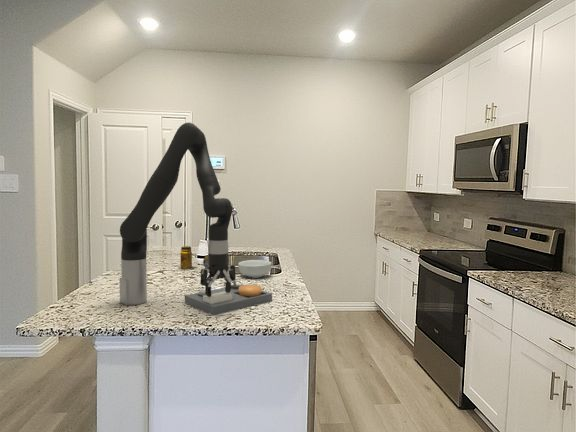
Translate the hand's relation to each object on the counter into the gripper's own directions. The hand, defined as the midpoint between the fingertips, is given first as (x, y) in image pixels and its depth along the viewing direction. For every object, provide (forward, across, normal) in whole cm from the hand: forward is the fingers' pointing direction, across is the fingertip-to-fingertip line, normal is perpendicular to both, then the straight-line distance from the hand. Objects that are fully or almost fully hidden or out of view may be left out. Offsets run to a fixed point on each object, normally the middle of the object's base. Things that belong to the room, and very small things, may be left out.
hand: (218, 294), depth 157 cm
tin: (+6, +38, +58) cm, 69 cm away
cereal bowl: (+6, +45, +33) cm, 56 cm away
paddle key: (+2, 0, 0) cm, 2 cm away
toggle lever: (+1, +15, +10) cm, 18 cm away
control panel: (+5, +8, +4) cm, 10 cm away
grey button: (+2, 0, +10) cm, 10 cm away
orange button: (+2, +15, 0) cm, 15 cm away
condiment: (+6, +29, +72) cm, 78 cm away
